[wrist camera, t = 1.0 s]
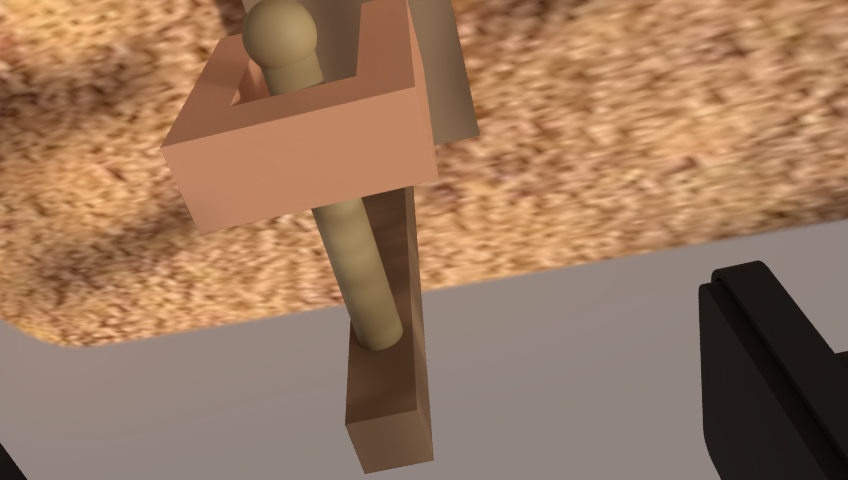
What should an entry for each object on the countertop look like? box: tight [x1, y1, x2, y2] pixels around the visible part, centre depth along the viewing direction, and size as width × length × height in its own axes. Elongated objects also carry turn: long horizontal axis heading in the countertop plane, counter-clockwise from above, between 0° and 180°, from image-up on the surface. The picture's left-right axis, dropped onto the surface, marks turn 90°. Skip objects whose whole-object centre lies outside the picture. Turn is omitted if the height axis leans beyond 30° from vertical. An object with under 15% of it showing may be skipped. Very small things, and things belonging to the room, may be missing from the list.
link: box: [160, 0, 438, 234], centre depth 22 cm, size 6×2×8 cm, turn 103°
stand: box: [242, 0, 480, 474], centre depth 28 cm, size 9×12×22 cm
